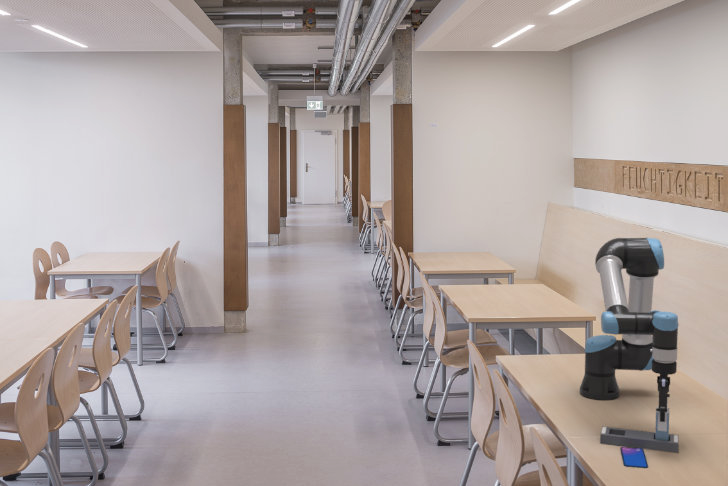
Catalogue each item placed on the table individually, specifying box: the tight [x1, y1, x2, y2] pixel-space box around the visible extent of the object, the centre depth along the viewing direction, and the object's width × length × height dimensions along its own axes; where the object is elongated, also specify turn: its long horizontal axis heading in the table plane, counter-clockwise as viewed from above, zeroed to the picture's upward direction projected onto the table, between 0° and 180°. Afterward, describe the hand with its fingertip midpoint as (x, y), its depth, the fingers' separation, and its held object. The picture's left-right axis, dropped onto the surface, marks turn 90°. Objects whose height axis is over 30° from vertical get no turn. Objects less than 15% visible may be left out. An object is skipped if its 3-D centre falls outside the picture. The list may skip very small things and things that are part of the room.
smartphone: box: [619, 446, 649, 469], centre depth 239 cm, size 7×1×15 cm
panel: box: [599, 426, 680, 454], centre depth 250 cm, size 8×24×3 cm, turn 68°
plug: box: [654, 406, 670, 441], centre depth 247 cm, size 4×4×13 cm
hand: (662, 423), depth 247 cm, fingers open, 13 cm apart
